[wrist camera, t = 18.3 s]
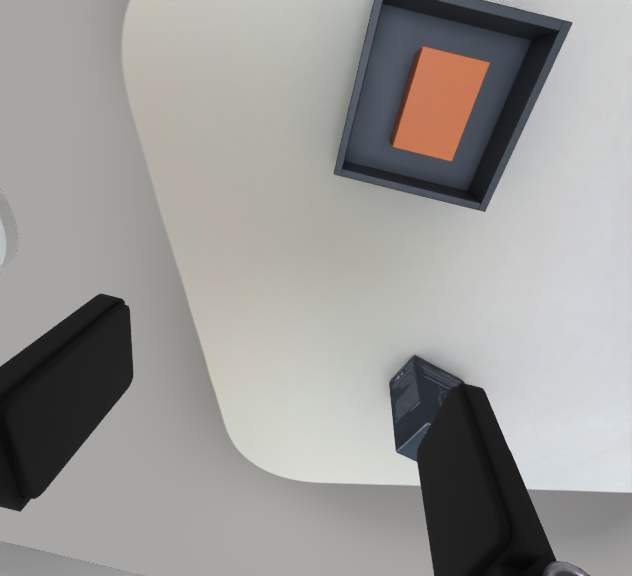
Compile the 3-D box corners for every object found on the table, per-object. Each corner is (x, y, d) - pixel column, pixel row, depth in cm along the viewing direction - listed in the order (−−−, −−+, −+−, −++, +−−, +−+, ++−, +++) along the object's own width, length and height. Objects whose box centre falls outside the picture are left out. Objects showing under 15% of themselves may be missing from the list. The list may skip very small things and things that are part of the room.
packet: (389, 141, 32) (392, 147, 29) (415, 52, 29) (422, 45, 25) (442, 155, 32) (451, 161, 29) (475, 66, 29) (490, 62, 25)
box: (388, 382, 46) (394, 453, 37) (414, 353, 44) (427, 422, 34) (437, 407, 47) (455, 482, 38) (465, 381, 45) (492, 455, 36)
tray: (337, 164, 34) (333, 174, 30) (377, -6, 28) (379, -26, 23) (469, 197, 34) (485, 211, 30) (539, 34, 28) (573, 22, 23)
